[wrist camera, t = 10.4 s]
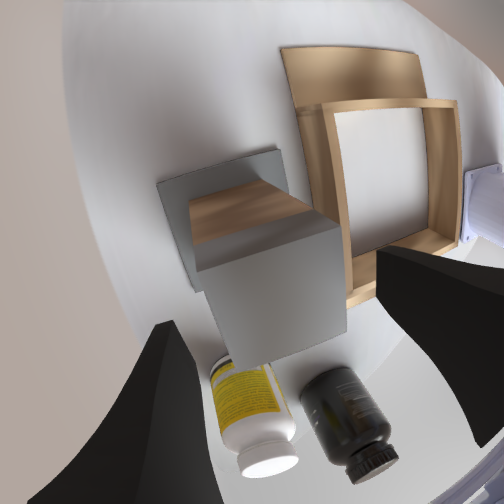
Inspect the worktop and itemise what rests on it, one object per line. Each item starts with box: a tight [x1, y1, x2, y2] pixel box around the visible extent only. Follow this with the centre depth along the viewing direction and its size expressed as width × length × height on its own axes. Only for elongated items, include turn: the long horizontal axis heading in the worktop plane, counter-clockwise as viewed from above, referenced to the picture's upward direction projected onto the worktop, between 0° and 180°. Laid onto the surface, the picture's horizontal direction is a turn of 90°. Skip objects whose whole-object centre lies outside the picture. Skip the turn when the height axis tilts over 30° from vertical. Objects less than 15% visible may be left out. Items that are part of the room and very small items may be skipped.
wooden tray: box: [281, 47, 462, 309], centre depth 17 cm, size 12×20×4 cm, turn 13°
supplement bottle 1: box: [210, 355, 298, 478], centre depth 18 cm, size 5×5×10 cm
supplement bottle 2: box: [301, 368, 399, 485], centre depth 22 cm, size 7×7×12 cm
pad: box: [156, 149, 289, 293], centre depth 17 cm, size 8×8×1 cm
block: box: [188, 179, 347, 373], centre depth 13 cm, size 4×4×9 cm
